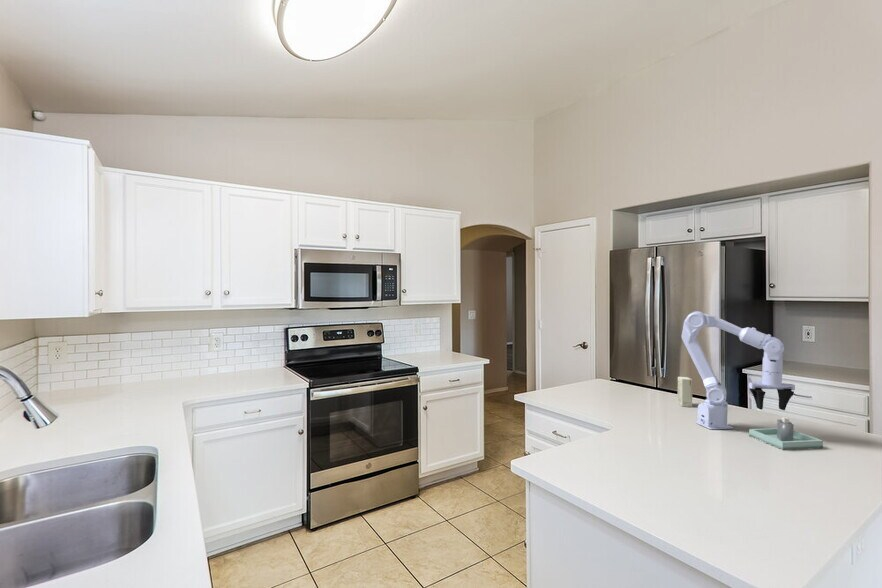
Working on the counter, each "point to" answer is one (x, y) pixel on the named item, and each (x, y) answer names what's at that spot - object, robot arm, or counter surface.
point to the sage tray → (798, 441)
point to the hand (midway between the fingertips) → (770, 409)
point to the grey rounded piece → (785, 429)
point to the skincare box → (685, 391)
